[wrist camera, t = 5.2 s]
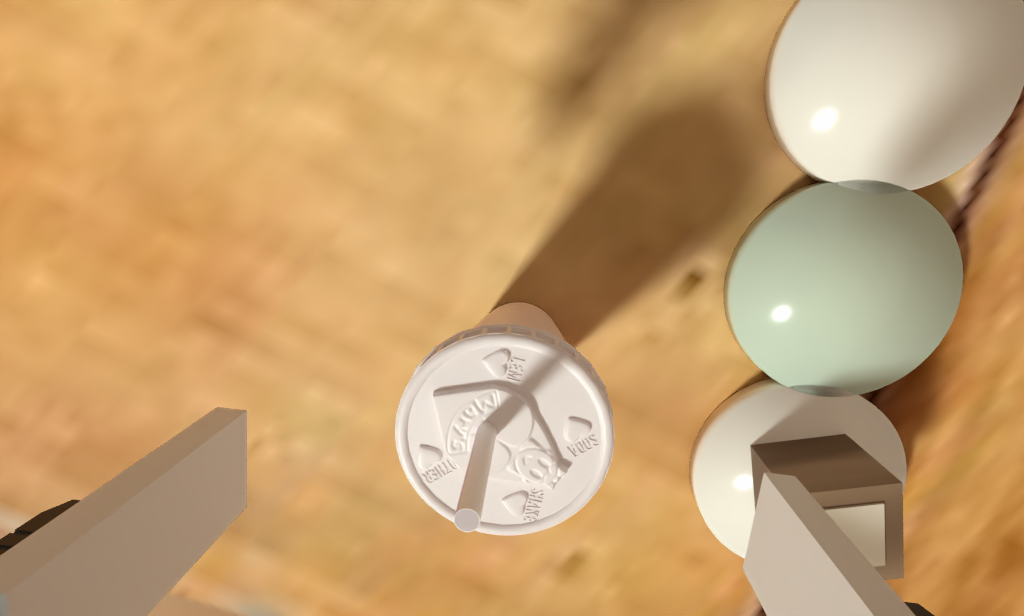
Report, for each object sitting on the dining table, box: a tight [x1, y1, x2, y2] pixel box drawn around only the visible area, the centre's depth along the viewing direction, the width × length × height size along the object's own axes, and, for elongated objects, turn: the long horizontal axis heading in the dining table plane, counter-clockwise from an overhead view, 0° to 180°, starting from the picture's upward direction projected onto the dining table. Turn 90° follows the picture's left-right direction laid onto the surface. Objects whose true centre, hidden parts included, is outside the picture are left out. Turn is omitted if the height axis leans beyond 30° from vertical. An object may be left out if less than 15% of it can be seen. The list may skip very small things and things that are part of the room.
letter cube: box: [750, 434, 904, 580], centre depth 23 cm, size 4×4×4 cm
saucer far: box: [689, 378, 907, 559], centre depth 26 cm, size 9×9×1 cm
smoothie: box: [395, 302, 614, 535], centre depth 19 cm, size 6×6×14 cm
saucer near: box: [764, 0, 1024, 194], centre depth 22 cm, size 9×9×1 cm
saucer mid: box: [724, 180, 963, 397], centre depth 24 cm, size 9×9×1 cm
